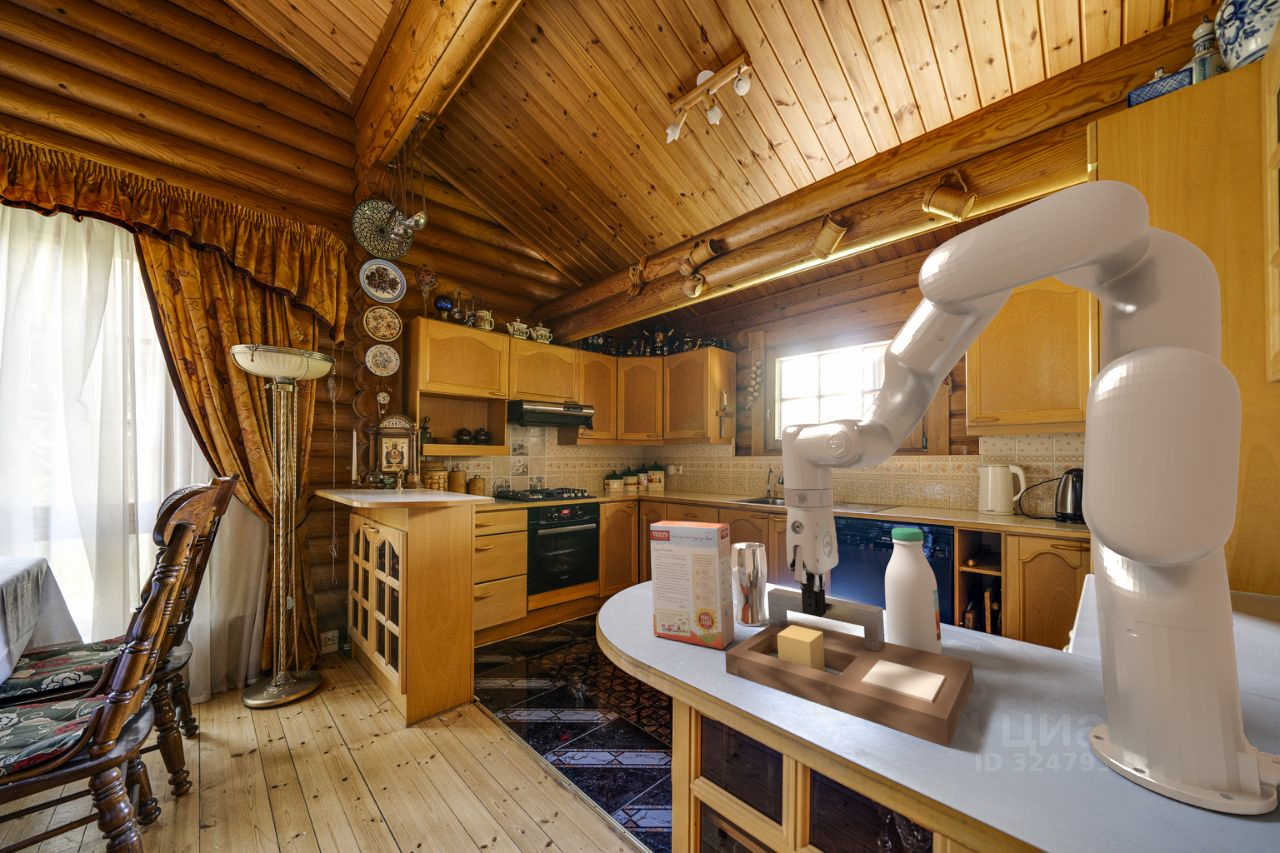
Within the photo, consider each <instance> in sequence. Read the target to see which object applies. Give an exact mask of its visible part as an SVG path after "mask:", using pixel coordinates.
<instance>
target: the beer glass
mask: <svg viewBox="0 0 1280 853" xmlns="http://www.w3.org/2000/svg"><path fill="white" fill-rule="evenodd" d="M765 546H766V545H765V544H764V543H760V542H750V541H749V542H747V541H744V542H736V543H732V544H731V571H732V583H733V587H734V590H735V591H734V592H735V595H736V596H735V597H736V614H735V622H736V623H737V624H739V625H741V626H744V625H745V626H746V627H751V626H756V627H761V626H762V627H763V626H764V625H766V624H767V622H768V618H767V613H766V610H765V596H766V595H765V594H766V586H767V577H768V576H767V575H768V564H767V555H766V547H765ZM745 626H744V627H745Z"/></svg>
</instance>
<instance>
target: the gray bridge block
mask: <svg viewBox="0 0 1280 853" xmlns="http://www.w3.org/2000/svg"><path fill="white" fill-rule="evenodd" d="M825 603H826V614H824V615H823V616H822V617H820V618H821V619H822V618H823V619H826V620H832V621H836V622H840V623H845V624H850V625H855V626H859V627H863V635H864V636H863V637H864V638H865V649H869V650H873V651H878V652H879V651H880V650H881V649H882V648H883V647H884V646H885V642H886V641H885V626H884V608H883V607H881V606H877V605H876V606H875V605H871V604H865V603H860V602H855V601H850V600H845V599H843V600H842V599H837V598H832V597H826V596H825ZM767 607H768V626H774V627H778V628H780V627H782V626H784V625H785V624H787V620H788V611H790V612H794V613H797V614H798V613H799V614H803V615H805V614H804V613H803V610H802V592H798V591H795V590H789V589H785V588H784V589H783V588H777V587H775V588H773V589H771V590H769V591H767ZM806 615H808V616H810V615H809V614H806ZM811 616H813V615H811ZM813 617H814V616H813ZM816 617H818V616H816ZM818 618H819V617H818Z"/></svg>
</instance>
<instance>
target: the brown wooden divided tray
mask: <svg viewBox="0 0 1280 853" xmlns="http://www.w3.org/2000/svg"><path fill="white" fill-rule="evenodd" d="M791 625H794V626H799V627H803V628H807V629H811V630H816V631H820V632H823V644H824V664H825V669H830V670H832V671H836V672H840V673H839V675H837V674H833V673H830V672H827V671H825V672H823V671H820V670H816V669H813V668H809V667H806V666H802V665H799V664H795V663H792V662H789V661H785V660H782V659H778V657H774V656H772V655H770V654H775V655H778V638H777V634H779V633H780V632H782V631H783V630H785V629H786V628H788V627H789V626H791ZM973 663H974V662H973V661H971V660H966V659H962V658H958V657H954V656H948V655H944V654H941V655H940V654H936V653H932V652H927V651H923V650H918V649H914V648H910V647H905V646H901V645H896V644H892V643H888V641H887V642H886V641H885V646H884V647H883V648H882V649H881V650H880V651H879V652H878V651H873V650H869V649H865V638H864V636H862V635H861V636H860V635H855V634H851V633H846V632H842V631H838V630H833V629H830V628H825V627H821V626H816V625H812V624H806V623H802V622H798V621H794V620H793V621H792V620H791V619H790V620H789V619H787V624H785V625H784V626H782V627H780V628H778V627H774V626H770V625H768V626H767V627H765V628H764V629H762V630H760V631H758V632H757V633H755V634H753V635H751V636H750V637H749V638H747V639H745V640H743V641H742V642H740V643H738V644H737V645H735V646H734V647H732V648H730V649H729V650H727V651H725V672H727V674H729V673H730V675H733V676H735V675H736V677H738V678H741V679H745V680H747V681H749V682H750V681H751V682H754V683H757V684H759V685H762V686H765V687H768V688H771V689H774V690H778V691H780V692H783V693H786V694H788V695H792V696H795V697H798V698H801V699H804V700H806V701H810V702H813V703H816V704H819V705H822V706H825V707H827V708H830V709H834V710H837V711H839V712H842V713H845V714H848V715H851V716H854V717H857V718H860V719H864V720H867V721H870V722H872V723H875V724H878V725H881V726H883V727H887V728H890V729H893V730H895V731H899V732H902V733H904V734H907V735H911V736H913V737H917V738H919V739H923V740H926V741H929V742H931V743H935V744H937V745H941V746H943V747H946V748H949V746H950V744H951V741H952V740H953V736H954V733H955V731H956V729H957V727H958V725H959V722H960V719H961V717H962V715H963V712H964V709H965V707H966V704H967V702H968V700H969V697H970V695H971V691H972V690H973V687H974V685H975V681H974V680H975V679H974V665H973Z"/></svg>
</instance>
